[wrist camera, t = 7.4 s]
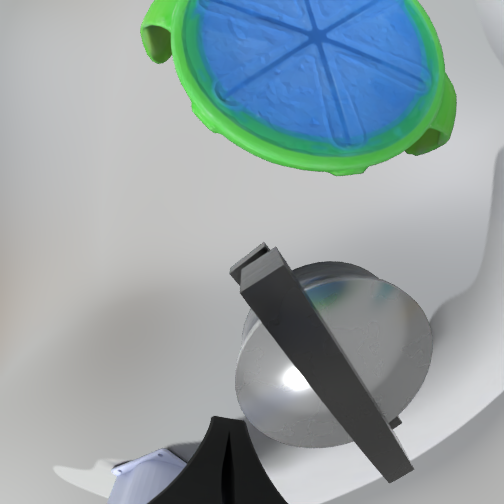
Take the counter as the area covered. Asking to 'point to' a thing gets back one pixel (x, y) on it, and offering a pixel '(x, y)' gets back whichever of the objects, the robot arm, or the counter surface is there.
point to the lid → (331, 360)
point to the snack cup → (310, 77)
